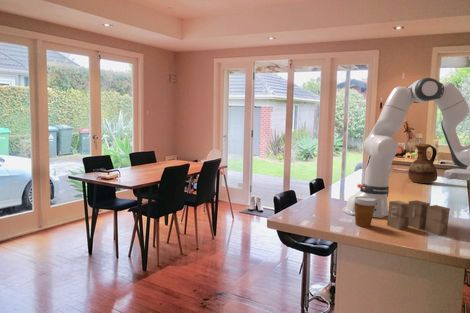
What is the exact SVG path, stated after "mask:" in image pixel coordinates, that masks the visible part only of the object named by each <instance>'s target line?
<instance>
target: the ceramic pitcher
mask: <svg viewBox="0 0 470 313" xmlns="http://www.w3.org/2000/svg"><path fill="white" fill-rule="evenodd" d="M414 147H416V149H417V151H416V152H417V157H416V159H414V160H413V162H412V163H411V164H410V165H409V168H408V172H407V173H408V174H407V177H408V179H409V181H411V182H414V183H418V182H419V183H421V184H426V183H434V182H436V181H438V171H437V168H436V166H435V164H434V163H435V159H436V158H437V151H438V150H437V149H436V148H437V147H436V148H435V147H434V146H433V145H431V144H429V143H426V144H425V143H421V144H414ZM429 148H430V149H431V150H432V153H431V157H430V159H428V156H427V151H428V149H429Z"/></svg>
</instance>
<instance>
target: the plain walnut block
mask: <svg viewBox="0 0 470 313" xmlns="http://www.w3.org/2000/svg"><path fill="white" fill-rule="evenodd" d="M450 210H451V208H449V207H445V206H442V205H438V204H435V205H434V204H433V205H429V206H428V208H427V217H426V226H425V228H424V232H426V233H429V234H432V235H436V236H444V235H446V234H448V225H449V217H450Z"/></svg>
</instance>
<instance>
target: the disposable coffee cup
mask: <svg viewBox="0 0 470 313" xmlns="http://www.w3.org/2000/svg"><path fill="white" fill-rule="evenodd" d="M354 203H355V215H354V218H355V219H354V220H355V225H356V226H357V227H361V228H370V227H371V225H372V221H373V218H374V217H373V212H374V208H375V205H376V199H374V198H371V197H364V196H357V197H355V199H354Z"/></svg>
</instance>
